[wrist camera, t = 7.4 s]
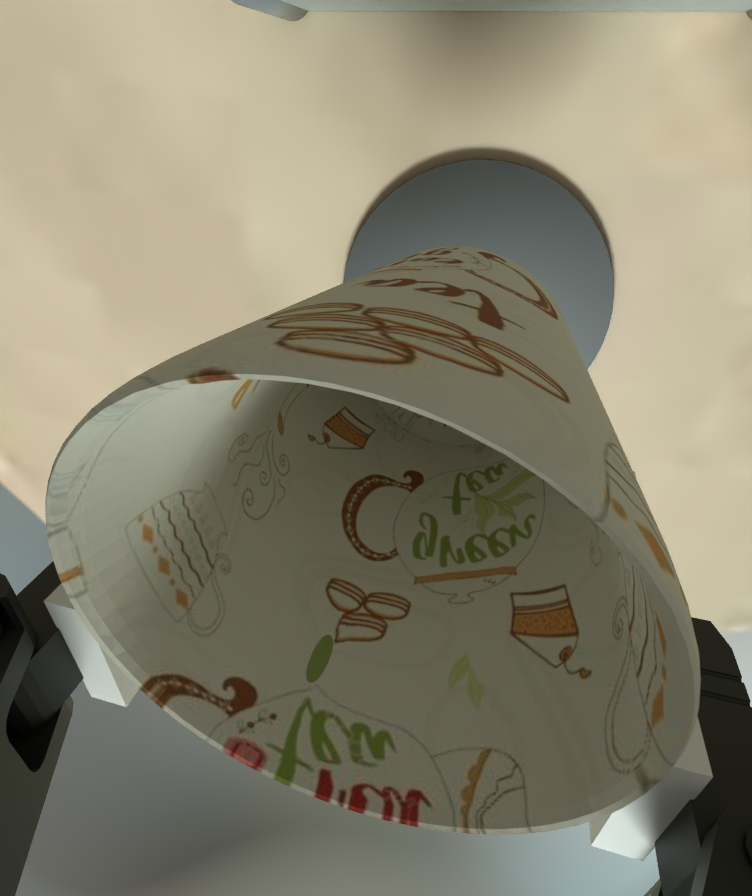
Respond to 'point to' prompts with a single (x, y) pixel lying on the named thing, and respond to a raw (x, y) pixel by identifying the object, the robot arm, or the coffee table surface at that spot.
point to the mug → (389, 555)
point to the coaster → (500, 235)
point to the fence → (488, 5)
